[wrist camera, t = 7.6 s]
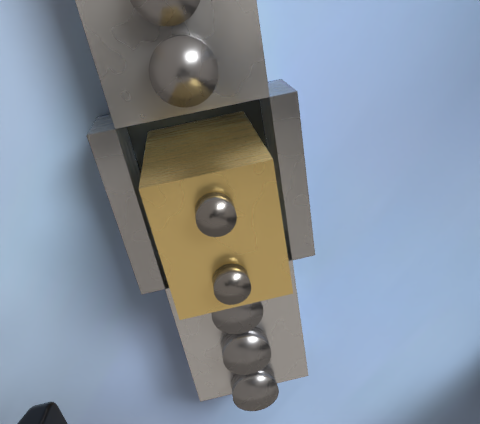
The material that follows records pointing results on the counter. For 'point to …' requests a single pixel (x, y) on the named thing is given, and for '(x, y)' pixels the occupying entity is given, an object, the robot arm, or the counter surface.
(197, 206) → the studded golden block
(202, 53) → the chrome-studded grey beam
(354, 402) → the counter surface
